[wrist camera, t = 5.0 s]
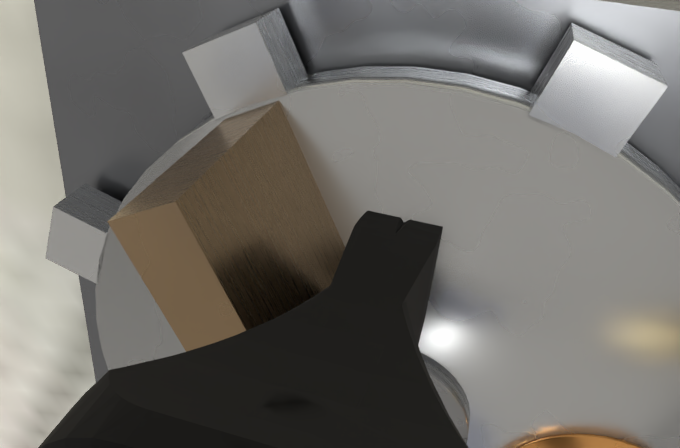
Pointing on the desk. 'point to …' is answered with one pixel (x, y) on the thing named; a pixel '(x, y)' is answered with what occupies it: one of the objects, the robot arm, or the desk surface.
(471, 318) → the tabbed metal disc
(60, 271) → the desk surface
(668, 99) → the base plate
